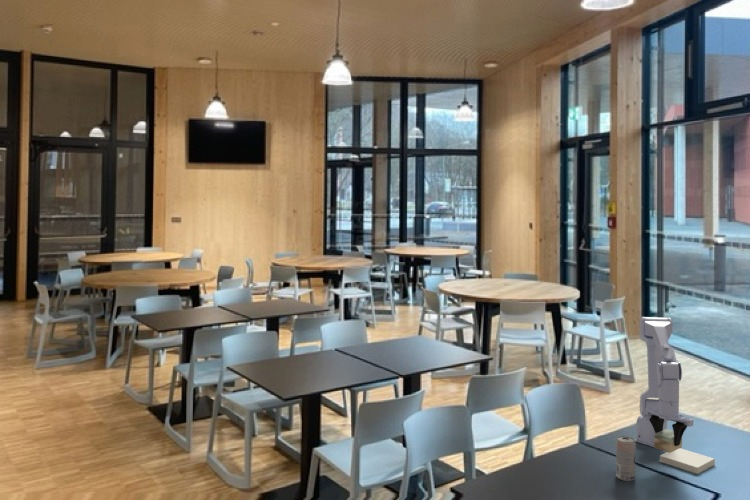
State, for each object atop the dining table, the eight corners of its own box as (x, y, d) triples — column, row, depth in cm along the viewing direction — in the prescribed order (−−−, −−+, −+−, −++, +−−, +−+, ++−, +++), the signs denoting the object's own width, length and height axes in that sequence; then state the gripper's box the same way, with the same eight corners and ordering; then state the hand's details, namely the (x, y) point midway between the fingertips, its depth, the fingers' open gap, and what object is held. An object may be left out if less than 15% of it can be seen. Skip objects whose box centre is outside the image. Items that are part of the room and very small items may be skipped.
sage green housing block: (654, 447, 191) (654, 433, 191) (666, 442, 195) (666, 428, 195) (669, 452, 187) (670, 438, 187) (681, 447, 191) (682, 433, 191)
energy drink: (634, 475, 187) (634, 436, 186) (635, 482, 182) (635, 443, 181) (615, 473, 189) (615, 435, 188) (616, 480, 184) (616, 441, 183)
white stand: (659, 461, 197) (659, 455, 197) (677, 453, 203) (677, 447, 203) (697, 474, 187) (697, 467, 187) (714, 464, 194) (714, 458, 194)
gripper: (639, 396, 194) (639, 438, 195) (685, 408, 182) (684, 452, 183) (652, 392, 198) (651, 433, 199) (697, 403, 186) (696, 447, 187)
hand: (668, 442), depth 191 cm, fingers closed on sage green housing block, 5 cm apart
